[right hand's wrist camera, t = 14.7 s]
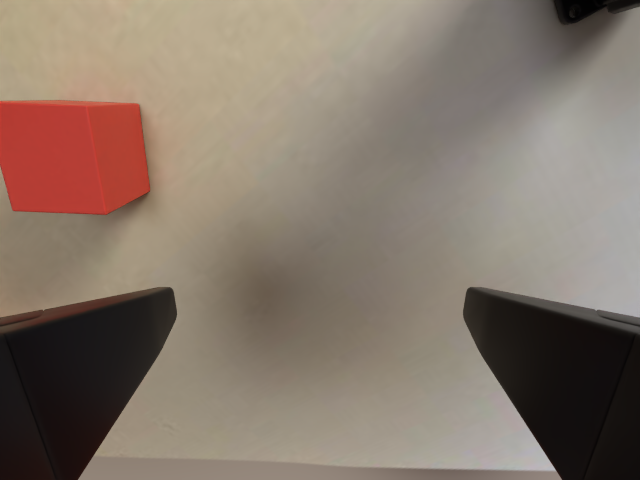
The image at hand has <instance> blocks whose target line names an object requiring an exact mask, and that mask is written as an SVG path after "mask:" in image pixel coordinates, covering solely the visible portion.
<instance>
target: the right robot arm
mask: <svg viewBox="0 0 640 480" xmlns="http://www.w3.org/2000/svg"><path fill="white" fill-rule="evenodd" d="M555 3H556V7H557V11H558V15H559V18H560V21H561V22H562V23H563V24H565V25H569V24H572V23H575V22H578V21H580V20H582V19H583V18H585V17H587V16H589V15H591V14H593V13H595V12H597V11H598V10H600V9H602V8H604V7H606V6H607V9H608V12H610V13H613V14H615V13H619V12H622V11H626V10H629V9H632V8H636V7H639V6H640V0H555ZM571 8H573V9H574V16H573V17H570V15H569V11H570V9H571ZM176 317H177V310H176V303H175V297H174V292H173V289H172V288H170V287H157V288H152V289H147V290H142V291H137V292H132V293H127V294H122V295H117V296H112V297H107V298H101V299H96V300H91V301H86V302H81V303H76V304H71V305H66V306H61V307H56V308H51V309H46V310H44V311H43V310H38V311H33V312H28V313H22V314H17V315H12V316H7V317H1V318H0V480H78V479H79V477H80V476H81V474H82V472H83V471H84V469H85V468H86V466H87V465H88V463H89V462H90V460H91V459H92V457H93V455H94V454H95V452H96V451H97V449H98V448H99V446H100V445H101V443H102V442H103V440H104V439H105V437H106V435H107V434H108V432H109V431H110V429H111V428H112V426H113V425H114V423H115V422H116V420H117V419H118V417H119V415H120V414H121V412H122V411H123V409H124V408H125V406H126V405H127V403H128V402H129V400H130V398H131V397H132V395H133V394H134V392H135V391H136V389H137V388H138V386H139V385H140V383H141V382H142V380H143V378H144V377H145V375H146V374H147V372H148V371H149V369H150V368H151V366H152V365H153V363H154V362H155V360H156V358H157V357H158V355H159V353H160V352H161V350H162V348H163V346H164V344H165V341H166V339H167V337H168V335H169V333H170V331H171V329H172V327H173V325H174V323H175V320H176ZM463 317H464V320H465V323H466V325H467V327H468V329H469V331H470V333H471V335H472V337H473V339H474V341H475V344H476V346H477V348H478V350H479V352H480V353H481V355H482V357H483V358H484V360H485V362H486V363H487V365H488V366H489V368H490V369H491V371H492V372H493V374H494V375H495V377H496V378H497V380H498V382H499V383H500V385H501V386H502V388H503V389H504V391H505V392H506V394H507V395H508V397H509V398H510V400H511V402H512V403H513V405H514V406H515V408H516V409H517V411H518V412H519V414H520V415H521V417H522V418H523V420H524V422H525V423H526V425H527V426H528V428H529V429H530V431H531V432H532V434H533V435H534V437H535V439H536V440H537V442H538V443H539V445H540V446H541V448H542V449H543V451H544V452H545V454H546V455H547V457H548V459H549V460H550V462H551V463H552V465H553V466H554V468H555V469H556V471H557V472H558V474H559V476H560V477H561V479H562V480H640V318H639V317H633V316H628V315H623V314H618V313H612V312H607V311H602V310H597V311H596V310H594V309H590V308H584V307H579V306H574V305H569V304H564V303H559V302H554V301H549V300H544V299H539V298H534V297H528V296H523V295H518V294H513V293H508V292H503V291H498V290H493V289H488V288H483V287H470V288H468V289H467V291H466V297H465V303H464V309H463Z"/></svg>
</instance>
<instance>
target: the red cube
mask: <svg viewBox="0 0 640 480" xmlns="http://www.w3.org/2000/svg"><path fill="white" fill-rule="evenodd" d="M0 166H1V170H2V173H3V177H4V181H5V184H6V188H7V192H8V195H9V199H10V203H11V206H12V210H13V211H24V212H49V213H75V214H100V215H106V214H108V213H110V212H112V211H114V210H116V209H118V208H120V207H121V206H123V205H125V204H127V203H129V202H131V201H133V200H134V199H136V198H138V197H140V196H142V195H144V194H146V193H147V192H149V191H150V186H149V178H148V170H147V163H146V155H145V148H144V140H143V132H142V125H141V117H140V109H139V104H135V103H111V102H86V101H62V100H43V101H0Z"/></svg>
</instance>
